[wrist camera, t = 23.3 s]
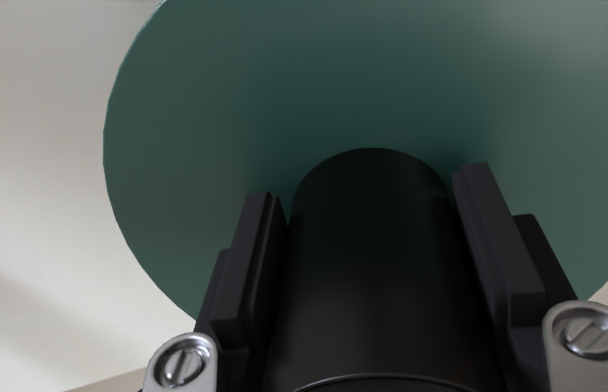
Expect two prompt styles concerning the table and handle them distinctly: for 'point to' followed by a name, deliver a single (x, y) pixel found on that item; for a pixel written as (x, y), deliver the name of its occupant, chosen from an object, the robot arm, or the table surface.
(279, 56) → the lid
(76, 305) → the table surface
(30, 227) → the table surface
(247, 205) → the robot arm
